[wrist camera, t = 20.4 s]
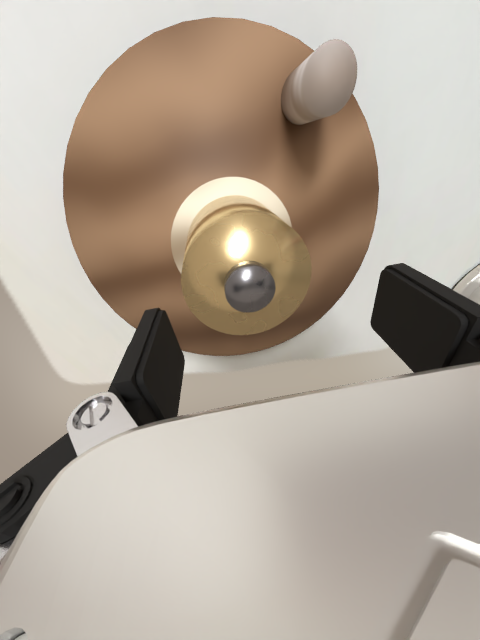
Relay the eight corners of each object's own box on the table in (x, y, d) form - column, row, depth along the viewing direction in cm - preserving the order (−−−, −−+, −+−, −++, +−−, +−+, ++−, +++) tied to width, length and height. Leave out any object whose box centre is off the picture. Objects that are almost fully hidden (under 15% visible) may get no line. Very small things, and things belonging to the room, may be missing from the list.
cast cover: (297, 217, 17) (344, 248, 11) (258, 299, 20) (280, 353, 15) (202, 177, 15) (202, 190, 9) (177, 276, 18) (166, 329, 13)
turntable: (-11, 131, 14) (-115, 119, 9) (357, -48, 12) (455, -176, 7) (173, 368, 26) (168, 412, 22) (365, 299, 25) (402, 332, 20)
